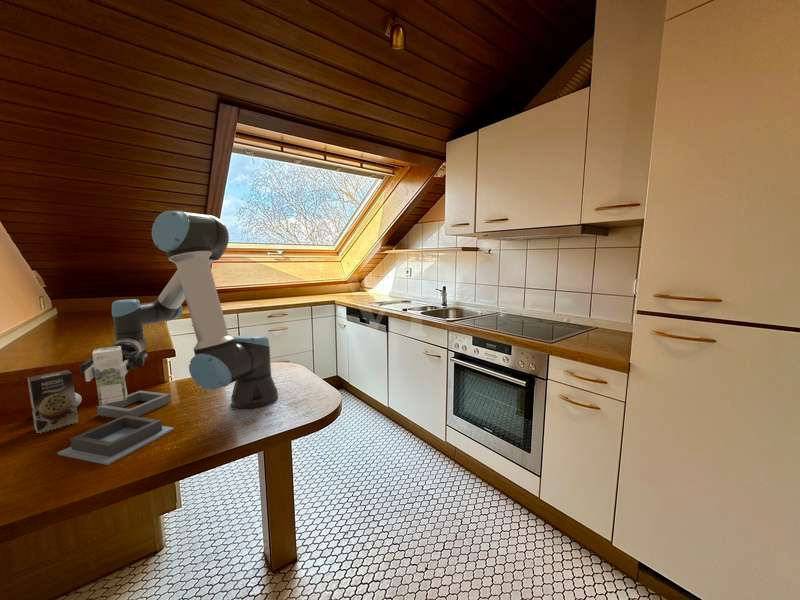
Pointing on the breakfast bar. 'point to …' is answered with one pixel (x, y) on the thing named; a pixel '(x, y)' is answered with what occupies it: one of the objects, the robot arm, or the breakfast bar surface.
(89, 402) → the breakfast bar surface
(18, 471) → the breakfast bar surface
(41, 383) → the dessert mix box
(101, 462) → the gray flanged tray
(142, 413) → the gray open tray
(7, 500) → the breakfast bar surface
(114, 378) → the syrup box
